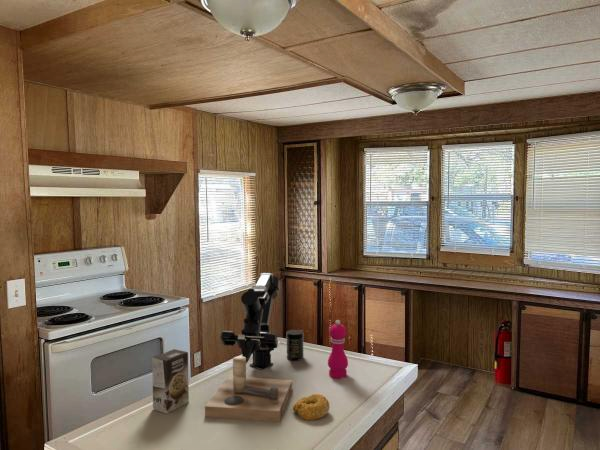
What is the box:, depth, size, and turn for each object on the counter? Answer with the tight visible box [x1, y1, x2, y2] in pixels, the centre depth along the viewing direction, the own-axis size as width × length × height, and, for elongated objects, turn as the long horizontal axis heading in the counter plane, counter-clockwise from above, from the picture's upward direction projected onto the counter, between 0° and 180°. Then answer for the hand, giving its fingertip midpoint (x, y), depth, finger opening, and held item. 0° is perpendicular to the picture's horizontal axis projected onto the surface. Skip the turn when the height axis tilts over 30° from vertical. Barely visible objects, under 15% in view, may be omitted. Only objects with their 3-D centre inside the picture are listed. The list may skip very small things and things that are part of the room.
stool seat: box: [204, 376, 293, 422], centre depth 141 cm, size 22×22×3 cm
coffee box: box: [151, 348, 190, 414], centre depth 138 cm, size 9×6×16 cm
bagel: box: [292, 393, 330, 421], centre depth 134 cm, size 10×11×5 cm
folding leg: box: [232, 355, 278, 399], centre depth 139 cm, size 4×15×10 cm, turn 66°
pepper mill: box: [327, 319, 349, 379], centre depth 161 cm, size 7×7×20 cm
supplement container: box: [285, 329, 304, 362], centre depth 179 cm, size 7×7×10 cm
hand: (244, 363), depth 147 cm, fingers closed
